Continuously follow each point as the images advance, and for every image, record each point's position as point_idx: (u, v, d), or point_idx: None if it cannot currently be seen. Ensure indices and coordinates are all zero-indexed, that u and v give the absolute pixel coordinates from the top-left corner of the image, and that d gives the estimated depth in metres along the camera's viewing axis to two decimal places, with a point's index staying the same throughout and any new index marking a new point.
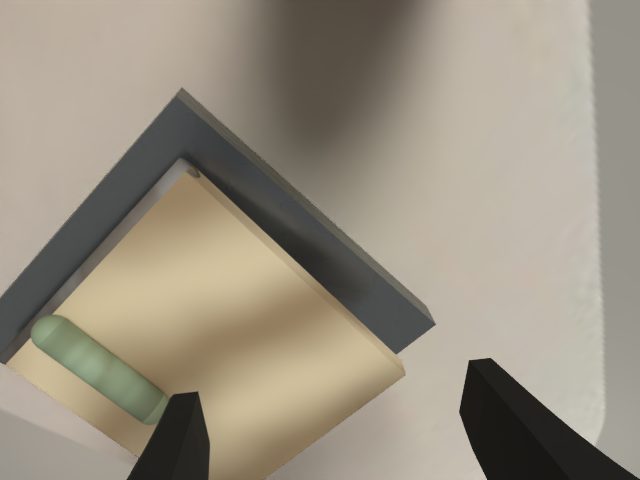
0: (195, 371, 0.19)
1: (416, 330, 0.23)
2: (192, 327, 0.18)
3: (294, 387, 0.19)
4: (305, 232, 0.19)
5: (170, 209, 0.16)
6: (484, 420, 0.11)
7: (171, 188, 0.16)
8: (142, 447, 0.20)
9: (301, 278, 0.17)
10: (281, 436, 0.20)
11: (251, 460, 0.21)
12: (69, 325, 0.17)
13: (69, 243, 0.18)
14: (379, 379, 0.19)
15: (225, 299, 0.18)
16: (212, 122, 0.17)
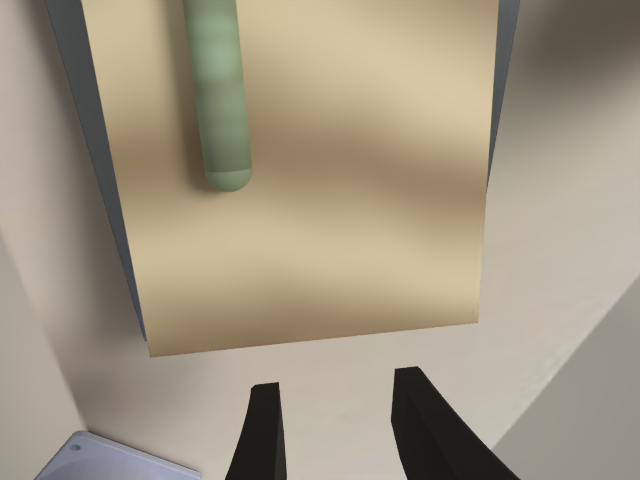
0: (298, 170, 0.14)
1: None
2: (346, 119, 0.14)
3: (376, 263, 0.16)
4: None
5: None
6: (406, 430, 0.11)
7: None
8: (143, 214, 0.14)
9: (488, 157, 0.15)
10: (311, 309, 0.16)
11: (254, 316, 0.16)
12: None
13: None
14: (454, 311, 0.17)
15: (406, 118, 0.14)
16: None
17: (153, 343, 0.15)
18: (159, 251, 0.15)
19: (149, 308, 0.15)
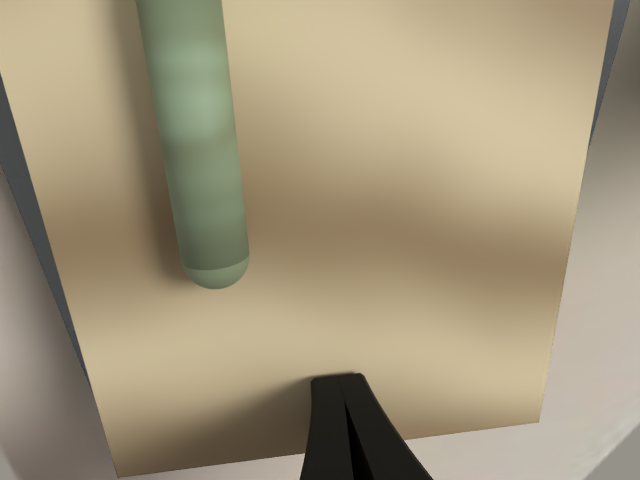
0: (314, 247, 0.10)
1: None
2: (383, 179, 0.10)
3: (415, 359, 0.12)
4: None
5: None
6: None
7: None
8: (98, 309, 0.10)
9: (573, 225, 0.11)
10: None
11: (253, 426, 0.12)
12: (221, 0, 0.08)
13: None
14: (510, 410, 0.13)
15: (467, 176, 0.10)
16: None
17: (121, 462, 0.12)
18: (123, 354, 0.11)
19: (113, 422, 0.11)
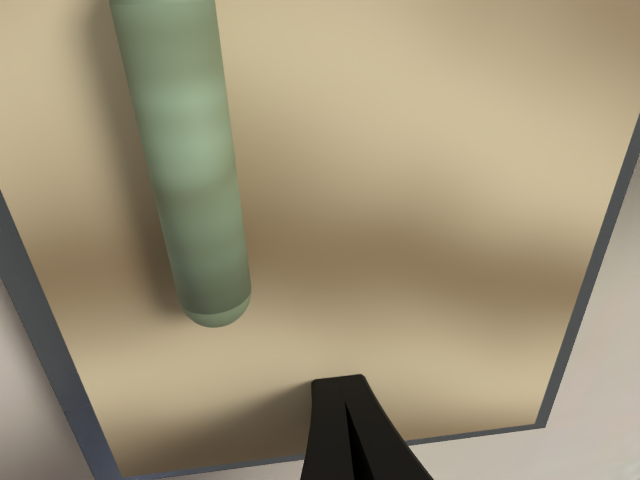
0: (319, 274, 0.10)
1: None
2: (395, 206, 0.09)
3: (418, 373, 0.12)
4: None
5: None
6: None
7: None
8: (92, 334, 0.10)
9: (592, 248, 0.10)
10: None
11: (255, 433, 0.12)
12: (217, 22, 0.06)
13: None
14: (508, 415, 0.13)
15: (486, 202, 0.09)
16: None
17: (124, 465, 0.12)
18: (122, 374, 0.10)
19: (115, 432, 0.11)
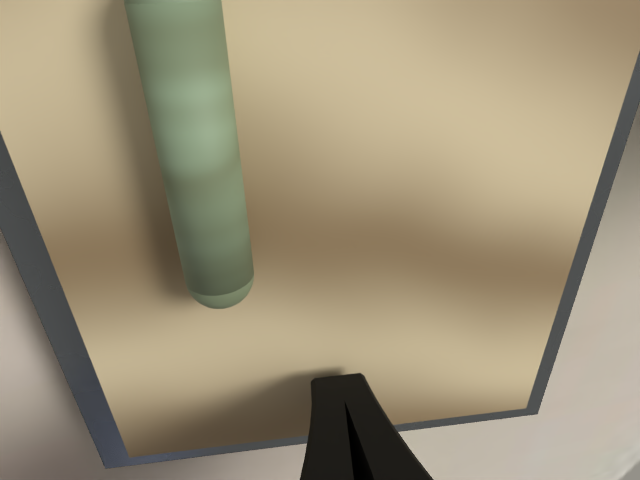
0: (318, 260, 0.10)
1: None
2: (390, 195, 0.10)
3: (413, 358, 0.12)
4: None
5: None
6: None
7: None
8: (103, 317, 0.10)
9: (579, 236, 0.11)
10: None
11: (256, 414, 0.13)
12: (223, 20, 0.07)
13: None
14: (500, 399, 0.14)
15: (477, 191, 0.10)
16: None
17: (131, 445, 0.13)
18: (130, 355, 0.11)
19: (123, 413, 0.12)
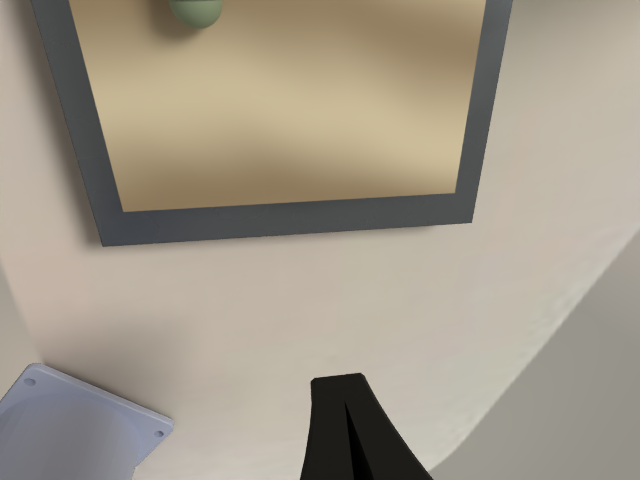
0: (275, 10, 0.13)
1: (452, 214, 0.19)
2: None
3: (356, 124, 0.15)
4: None
5: None
6: None
7: None
8: (104, 53, 0.13)
9: (484, 7, 0.14)
10: (287, 170, 0.16)
11: (228, 174, 0.15)
12: None
13: None
14: (432, 180, 0.16)
15: None
16: None
17: (125, 197, 0.15)
18: (125, 97, 0.14)
19: (119, 160, 0.15)
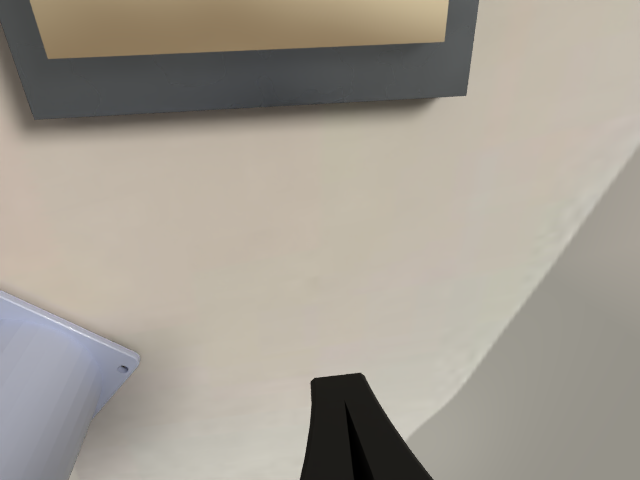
0: None
1: (443, 83, 0.16)
2: None
3: None
4: None
5: None
6: None
7: None
8: None
9: None
10: (242, 4, 0.13)
11: (171, 8, 0.13)
12: None
13: None
14: (417, 23, 0.14)
15: None
16: None
17: (48, 38, 0.13)
18: None
19: None
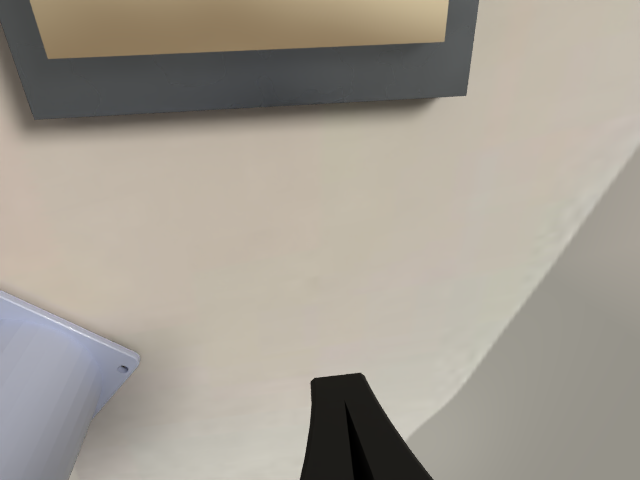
0: None
1: (443, 83, 0.16)
2: None
3: None
4: None
5: None
6: None
7: None
8: None
9: None
10: (242, 4, 0.13)
11: (171, 8, 0.13)
12: None
13: None
14: (417, 23, 0.14)
15: None
16: None
17: (48, 38, 0.13)
18: None
19: None
